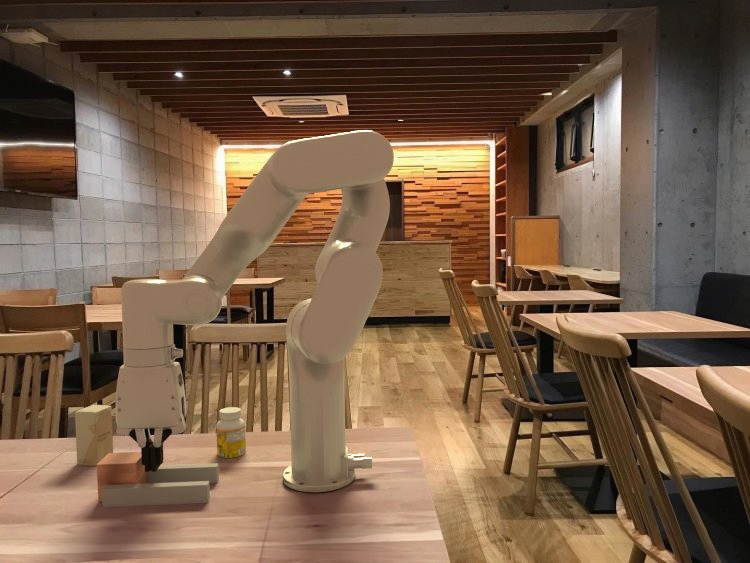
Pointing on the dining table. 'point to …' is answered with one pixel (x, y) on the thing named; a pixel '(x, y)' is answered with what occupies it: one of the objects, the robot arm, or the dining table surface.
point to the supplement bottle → (230, 433)
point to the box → (93, 434)
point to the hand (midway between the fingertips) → (152, 468)
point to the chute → (165, 487)
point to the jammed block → (120, 470)
